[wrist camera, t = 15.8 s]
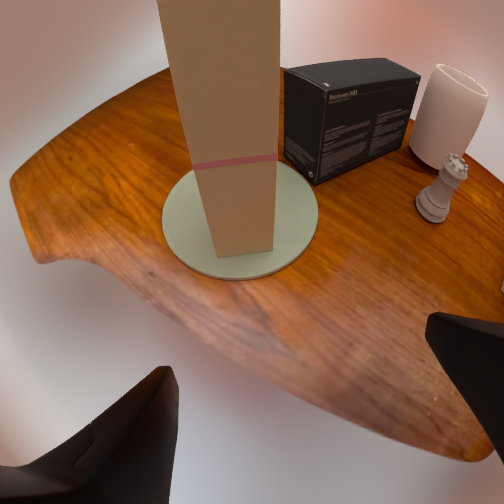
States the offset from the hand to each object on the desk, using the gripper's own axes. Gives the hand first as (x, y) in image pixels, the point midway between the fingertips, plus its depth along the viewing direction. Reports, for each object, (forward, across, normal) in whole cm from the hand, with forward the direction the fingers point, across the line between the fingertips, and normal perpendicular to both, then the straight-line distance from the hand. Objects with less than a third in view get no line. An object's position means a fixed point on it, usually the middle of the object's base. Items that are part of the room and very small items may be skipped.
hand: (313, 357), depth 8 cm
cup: (+26, -27, -7) cm, 38 cm away
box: (+27, -14, -8) cm, 32 cm away
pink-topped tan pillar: (+19, +1, -1) cm, 19 cm away
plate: (+22, +1, -3) cm, 22 cm away
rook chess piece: (+20, -21, -1) cm, 29 cm away
